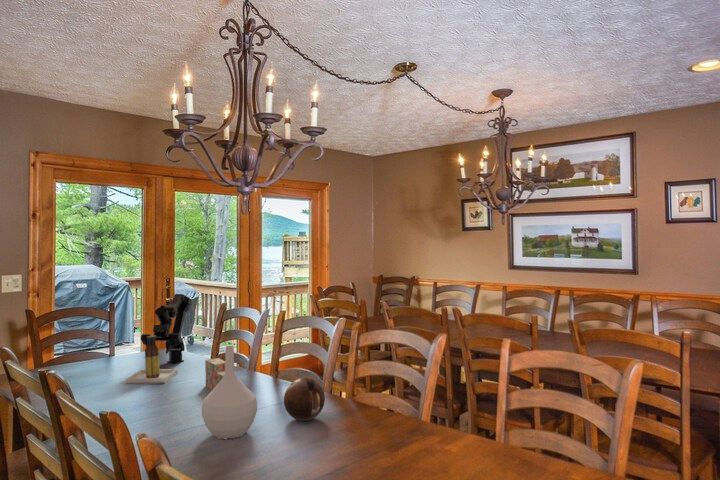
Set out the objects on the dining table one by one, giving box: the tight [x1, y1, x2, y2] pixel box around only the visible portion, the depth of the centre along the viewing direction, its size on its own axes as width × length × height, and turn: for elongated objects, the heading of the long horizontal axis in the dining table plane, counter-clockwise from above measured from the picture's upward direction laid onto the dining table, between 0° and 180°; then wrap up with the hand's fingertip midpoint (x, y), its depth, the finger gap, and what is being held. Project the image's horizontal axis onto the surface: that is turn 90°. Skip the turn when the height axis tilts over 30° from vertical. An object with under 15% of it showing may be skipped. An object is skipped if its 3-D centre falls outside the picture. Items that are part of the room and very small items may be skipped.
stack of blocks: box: [204, 357, 237, 391], centre depth 220 cm, size 21×6×12 cm, turn 36°
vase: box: [201, 345, 258, 440], centre depth 169 cm, size 18×18×30 cm
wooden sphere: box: [283, 377, 326, 422], centre depth 182 cm, size 15×15×15 cm
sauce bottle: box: [144, 335, 161, 378], centre depth 241 cm, size 6×6×20 cm
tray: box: [125, 368, 178, 385], centre depth 240 cm, size 18×18×2 cm
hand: (156, 353), depth 246 cm, fingers open, 9 cm apart
